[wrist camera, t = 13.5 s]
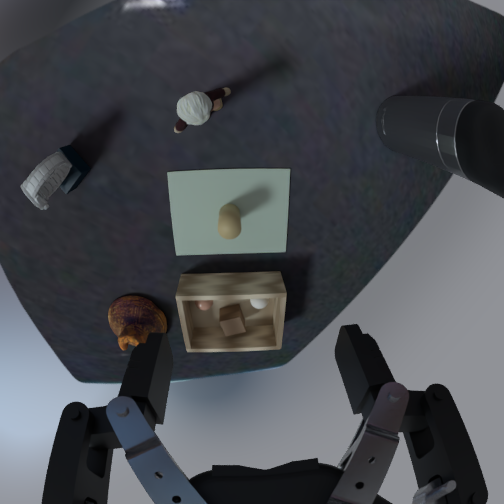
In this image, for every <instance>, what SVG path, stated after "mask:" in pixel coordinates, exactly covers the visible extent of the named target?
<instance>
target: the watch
mask: <svg viewBox="0 0 504 504" xmlns="http://www.w3.org/2000/svg"><path fill="white" fill-rule="evenodd" d="M35 169H36V170H35ZM35 169H34V170H33V171H32V173H31V175H30V176H29V177H28V179H27V180H25V181H24V183H23V184H22V185H21V188H22V190H23V192H24V193H25V195H26V196H27V197H28V198H29V200H30V201H31V202H32V203H33V204H35V205H36V206H37V207H38V208H40V209H42V210H43V209H45V210H46V209H47V208H48V207H49V205H48V204H47V203H48V200H49V199H48V198H49V197H50V196H51V195H52V194H53V193H54V192H55V190H56V189H57V188H58V187H60V188H61V189H62V190H63V191H64V192H65V193H66V194H68V193H69V192H71V191H72V190H74V189H76V188H77V186H78V185H79V184H80V182H81V181H82V180H83V178H84V177H85V176H86V174H87V173H88V172H89V171H90V169H91V168H90V167H89V166H88V165H87V164H86V163H85V161H84V160H83V159H82V158H81V157H80V156H79V155H78V154H77V152H76V151H75V150H74V149H73V148H72V147H71V146H70V145H68V146H64V147H61V148H59V149H58V151H57V152H56V153H55V154H52V155H50V156H49V157H47V158H46V159H45V160H43V161H42V162H41V163H40V164H39V165H38V166H37V167H36V168H35ZM39 170H40V171H39ZM43 175H44V176H43ZM49 176H50V177H49ZM48 177H49V178H48ZM47 178H48V179H47ZM49 183H50V184H51V185H52V186H51V185H50V184H49ZM57 186H58V187H57Z"/></svg>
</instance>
